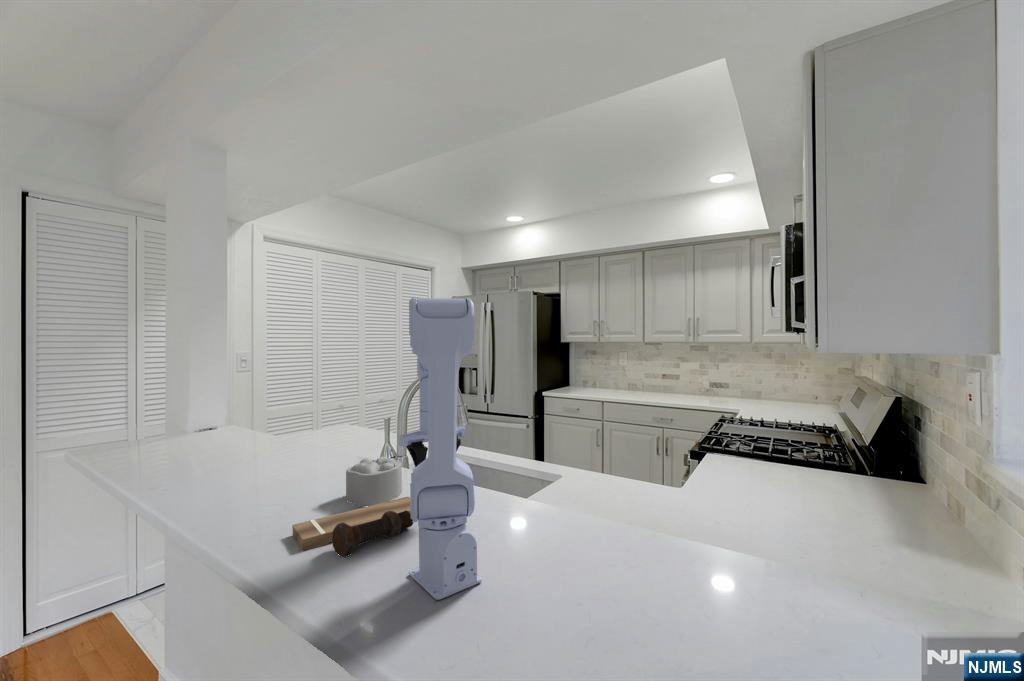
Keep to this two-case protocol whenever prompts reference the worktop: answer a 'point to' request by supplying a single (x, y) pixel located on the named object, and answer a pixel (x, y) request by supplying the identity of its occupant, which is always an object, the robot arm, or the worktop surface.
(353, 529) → the bolt
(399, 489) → the lumpy-topped squat cylinder
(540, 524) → the worktop surface
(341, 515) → the walnut board
